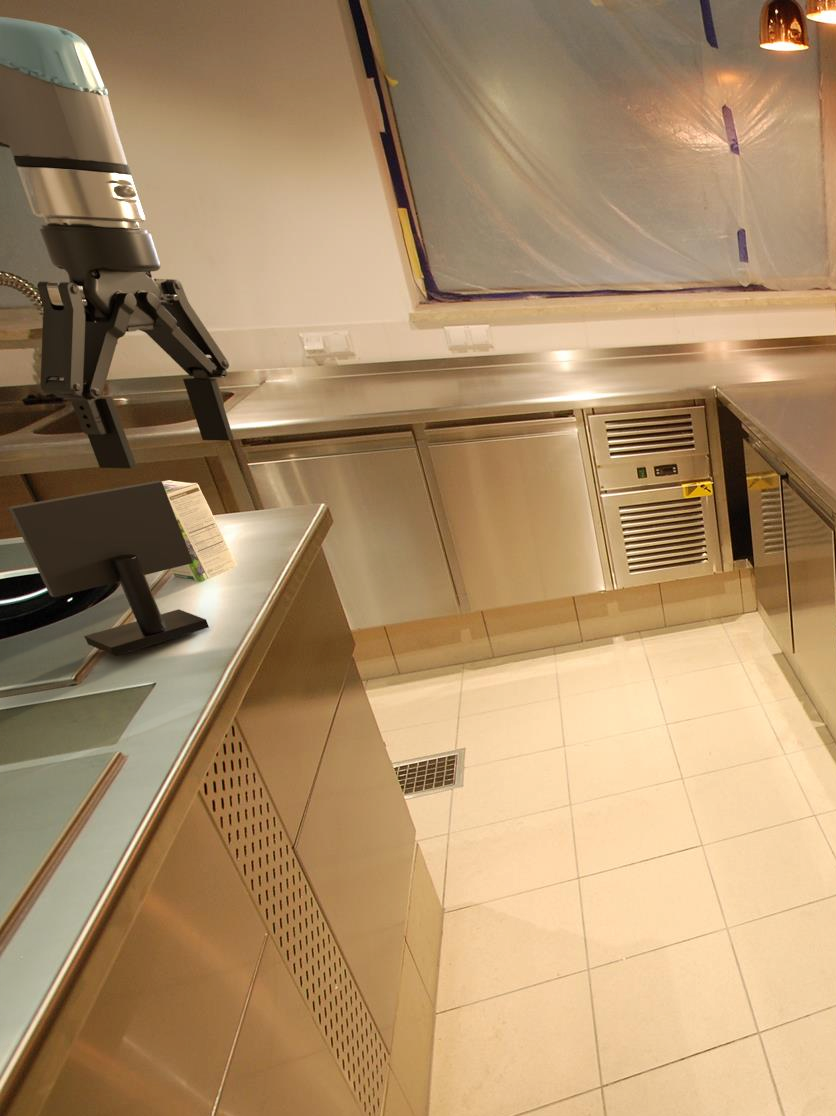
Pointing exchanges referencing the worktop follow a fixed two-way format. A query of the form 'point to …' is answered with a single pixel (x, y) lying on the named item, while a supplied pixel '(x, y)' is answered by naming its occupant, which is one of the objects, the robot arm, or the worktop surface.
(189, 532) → the syrup box
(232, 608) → the worktop surface
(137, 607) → the monitor stand
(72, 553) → the monitor screen
